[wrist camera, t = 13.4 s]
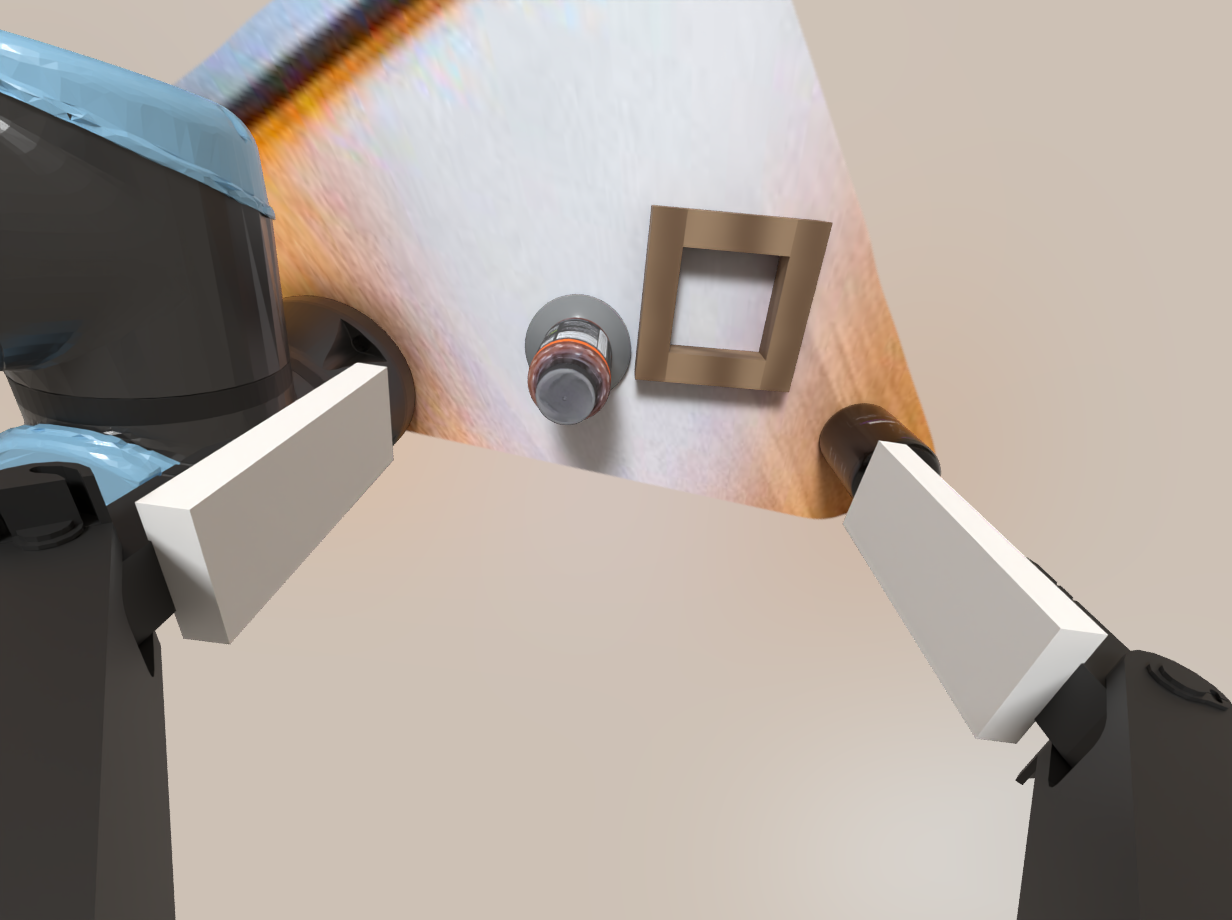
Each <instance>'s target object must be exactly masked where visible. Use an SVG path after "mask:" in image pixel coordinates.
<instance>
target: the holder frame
mask: <svg viewBox="0 0 1232 920" xmlns="http://www.w3.org/2000/svg"><path fill="white" fill-rule="evenodd" d="M831 227H832V223H831V222H825V221H818V220H808V219H797V218H786V217H776V216H765V215H754V214H743V213H733V212H722V211H711V210H701V209H690V208H679V207H668V206H658V205H652V206H651V216H650V226H649V235H648V245H647V254H646V264H645V274H644V283H643V293H642V303H641V312H640V322H639V331H638V341H637V351H636V360H635V379H636V380H648V381H660V382H672V383H684V384H696V385H708V386H720V387H732V388H744V389H756V390H768V391H780V392H789V390H790V386H791V382H792V378H793V374H794V370H795V366H796V362H797V359H798V355H799V351H800V347H801V343H802V339H803V335H804V331H805V328H806V324H807V320H808V316H809V312H810V308H811V304H812V301H813V297H814V293H815V289H816V285H817V281H818V277H819V273H820V270H821V266H822V262H823V258H824V254H825V250H826V246H827V242H828V239H829V235H830V231H831ZM683 247H690V248H701V249H712V250H723V251H734V252H745V253H756V254H767V255H778V256H780V258H779V263H778V268H777V272H776V277H775V281H774V286H773V290H772V295H771V299H770V304H769V308H768V313H767V318H766V322H765V327H764V331H763V336H762V340H761V345H760V349H759V352H751V351H739V350H728V349H716V348H704V347H693V346H681V345H670V340H671V333H672V325H673V318H674V310H675V303H676V296H677V288H678V281H679V273H680V266H681V259H682V251H683Z"/></svg>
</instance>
